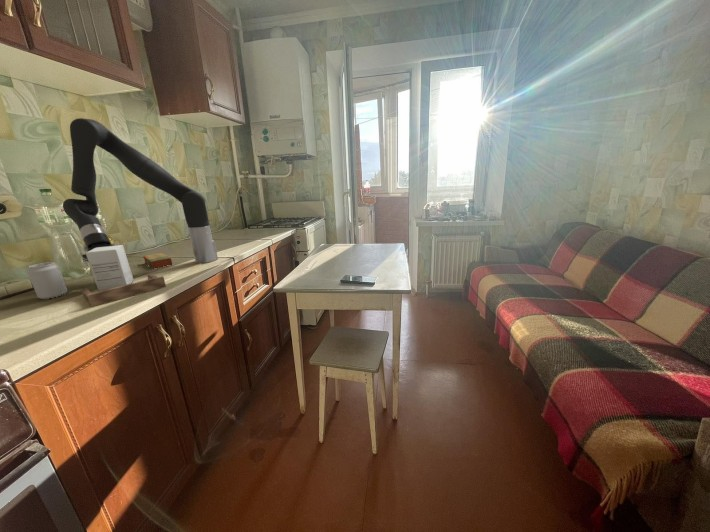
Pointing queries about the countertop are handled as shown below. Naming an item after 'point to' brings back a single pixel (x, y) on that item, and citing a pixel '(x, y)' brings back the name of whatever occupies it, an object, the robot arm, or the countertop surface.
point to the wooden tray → (124, 290)
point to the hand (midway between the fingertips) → (111, 271)
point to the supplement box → (109, 267)
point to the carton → (157, 260)
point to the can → (47, 280)
